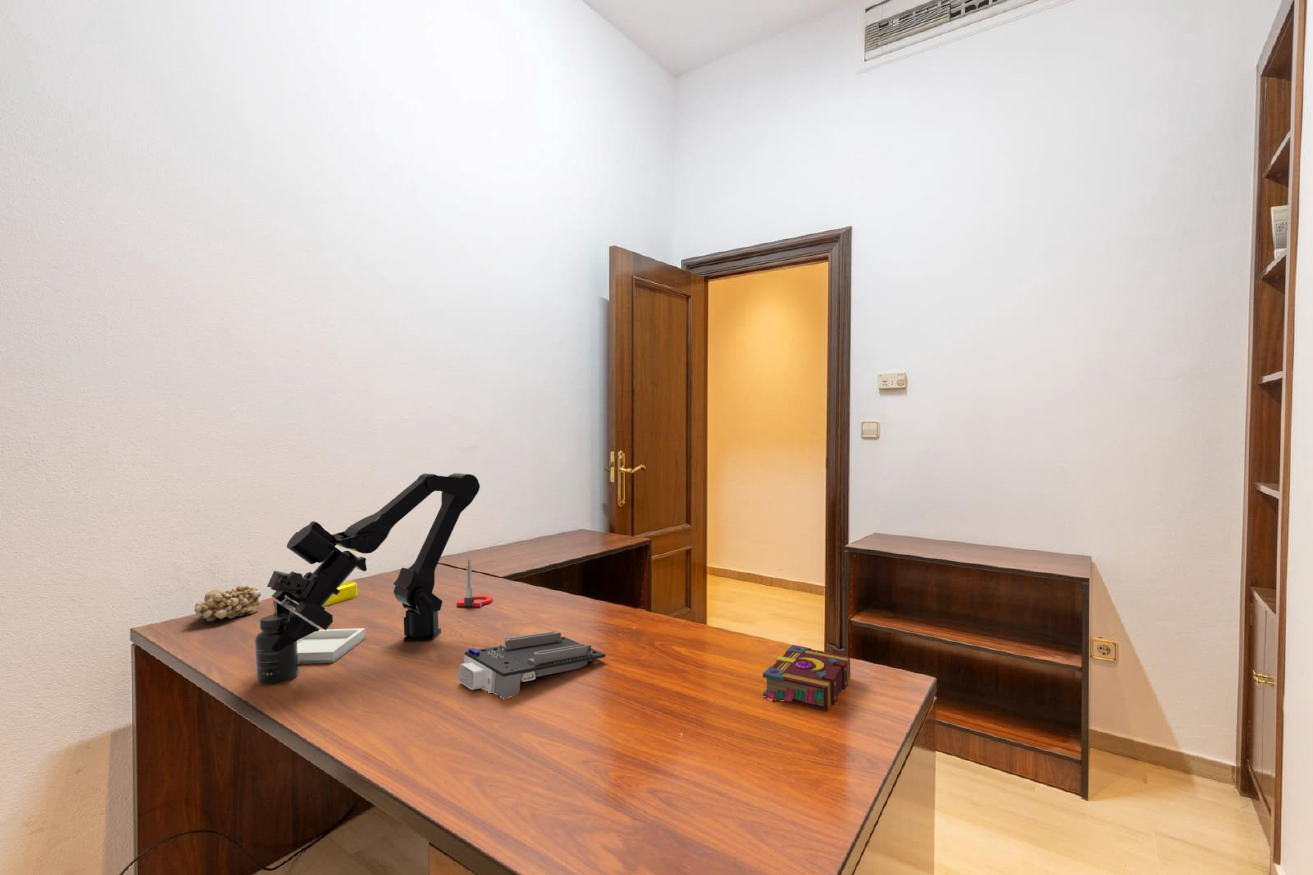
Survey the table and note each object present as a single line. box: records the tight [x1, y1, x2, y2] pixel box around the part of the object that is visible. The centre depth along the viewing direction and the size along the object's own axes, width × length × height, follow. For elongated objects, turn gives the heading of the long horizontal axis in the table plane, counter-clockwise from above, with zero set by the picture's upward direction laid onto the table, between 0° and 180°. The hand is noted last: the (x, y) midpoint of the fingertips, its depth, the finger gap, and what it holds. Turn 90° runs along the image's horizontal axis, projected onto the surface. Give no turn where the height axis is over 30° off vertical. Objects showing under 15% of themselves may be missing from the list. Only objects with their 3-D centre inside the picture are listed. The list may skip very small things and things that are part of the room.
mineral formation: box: [193, 584, 263, 622], centre depth 153 cm, size 8×13×15 cm
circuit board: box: [457, 631, 606, 700], centre depth 116 cm, size 25×7×15 cm
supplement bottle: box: [254, 613, 299, 686], centre depth 115 cm, size 7×7×12 cm
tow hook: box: [456, 557, 494, 609], centre depth 162 cm, size 8×13×9 cm
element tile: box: [322, 579, 359, 608], centre depth 168 cm, size 15×15×5 cm
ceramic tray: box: [297, 627, 366, 665], centre depth 129 cm, size 14×14×2 cm
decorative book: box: [762, 644, 851, 712], centre depth 106 cm, size 11×16×5 cm
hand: (268, 646), depth 114 cm, fingers closed on supplement bottle, 7 cm apart
